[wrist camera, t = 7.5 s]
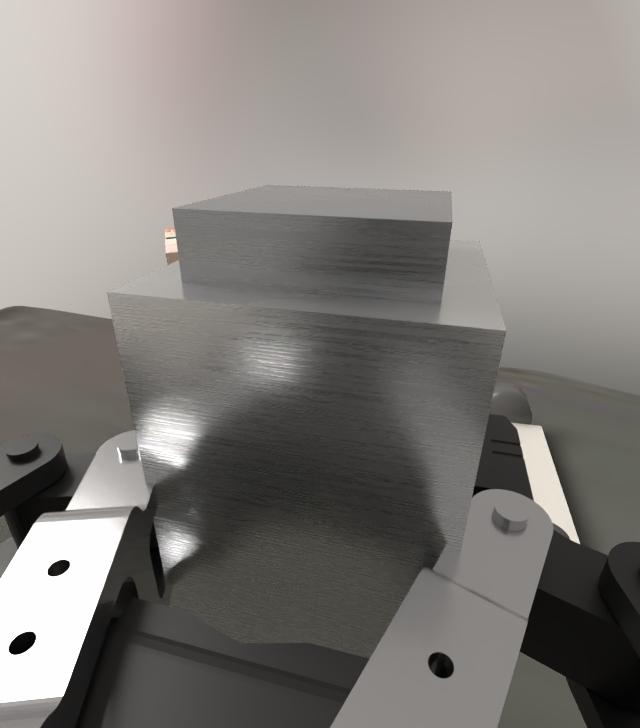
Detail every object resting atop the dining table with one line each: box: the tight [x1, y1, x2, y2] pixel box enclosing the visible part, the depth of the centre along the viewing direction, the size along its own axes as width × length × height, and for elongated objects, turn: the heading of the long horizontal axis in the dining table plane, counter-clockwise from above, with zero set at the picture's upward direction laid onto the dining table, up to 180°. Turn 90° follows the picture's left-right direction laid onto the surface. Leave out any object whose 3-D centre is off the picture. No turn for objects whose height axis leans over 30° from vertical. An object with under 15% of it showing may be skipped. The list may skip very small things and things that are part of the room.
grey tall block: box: [107, 185, 506, 659], centre depth 10 cm, size 5×5×12 cm
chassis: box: [489, 383, 580, 544], centre depth 29 cm, size 20×16×4 cm
